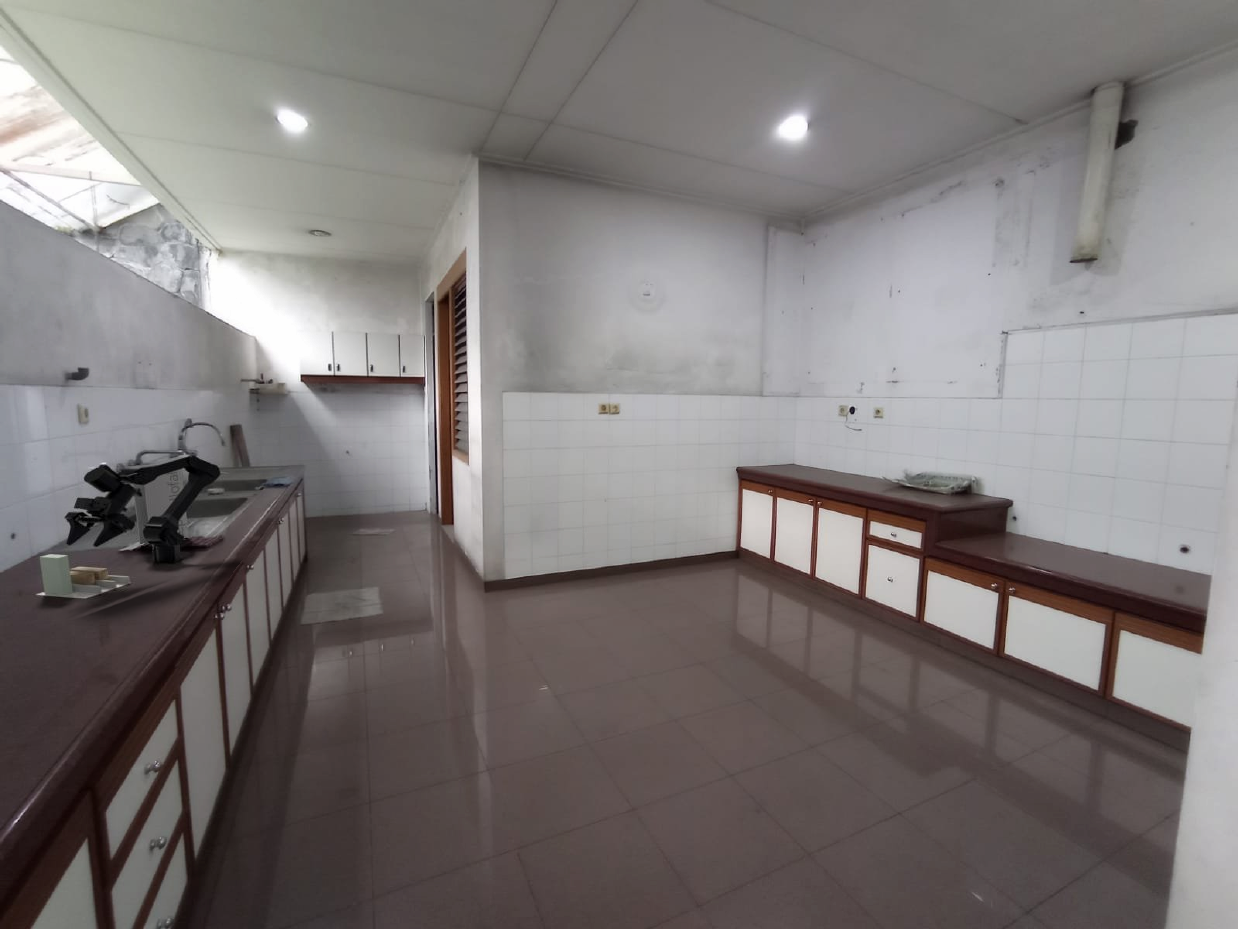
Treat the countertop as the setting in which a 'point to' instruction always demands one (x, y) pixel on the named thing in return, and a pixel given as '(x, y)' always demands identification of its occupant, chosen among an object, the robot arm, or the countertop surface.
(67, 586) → the sage green block
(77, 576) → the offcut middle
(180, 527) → the white cardboard box
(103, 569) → the offcut front
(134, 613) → the countertop surface
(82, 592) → the rack
